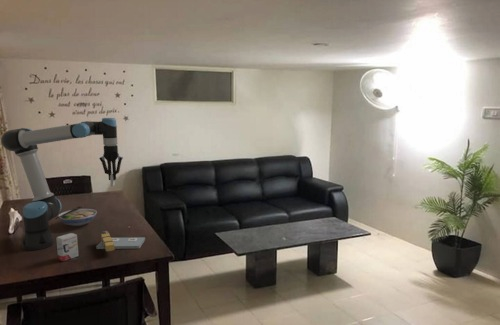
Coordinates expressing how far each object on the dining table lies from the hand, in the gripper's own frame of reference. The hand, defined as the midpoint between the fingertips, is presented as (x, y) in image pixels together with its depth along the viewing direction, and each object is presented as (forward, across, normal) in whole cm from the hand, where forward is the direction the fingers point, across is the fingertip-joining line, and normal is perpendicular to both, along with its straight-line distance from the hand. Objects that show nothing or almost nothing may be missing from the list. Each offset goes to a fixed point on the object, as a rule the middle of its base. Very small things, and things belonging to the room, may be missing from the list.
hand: (112, 185), depth 223 cm
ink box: (+31, +14, +32) cm, 47 cm away
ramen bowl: (+31, +30, -21) cm, 48 cm away
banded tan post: (+28, -2, +21) cm, 35 cm away
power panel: (+30, -8, +14) cm, 34 cm away
